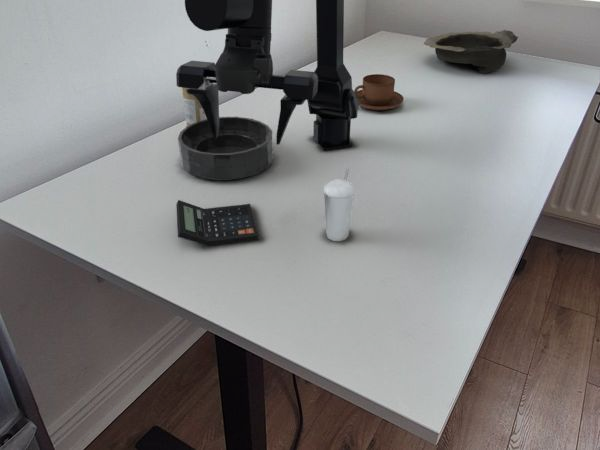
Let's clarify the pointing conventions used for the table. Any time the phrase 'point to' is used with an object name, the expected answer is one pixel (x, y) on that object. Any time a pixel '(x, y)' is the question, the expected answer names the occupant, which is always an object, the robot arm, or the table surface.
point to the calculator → (216, 224)
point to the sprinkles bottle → (192, 108)
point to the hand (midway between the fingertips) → (246, 140)
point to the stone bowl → (473, 48)
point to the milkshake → (338, 207)
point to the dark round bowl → (226, 148)
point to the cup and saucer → (378, 93)
